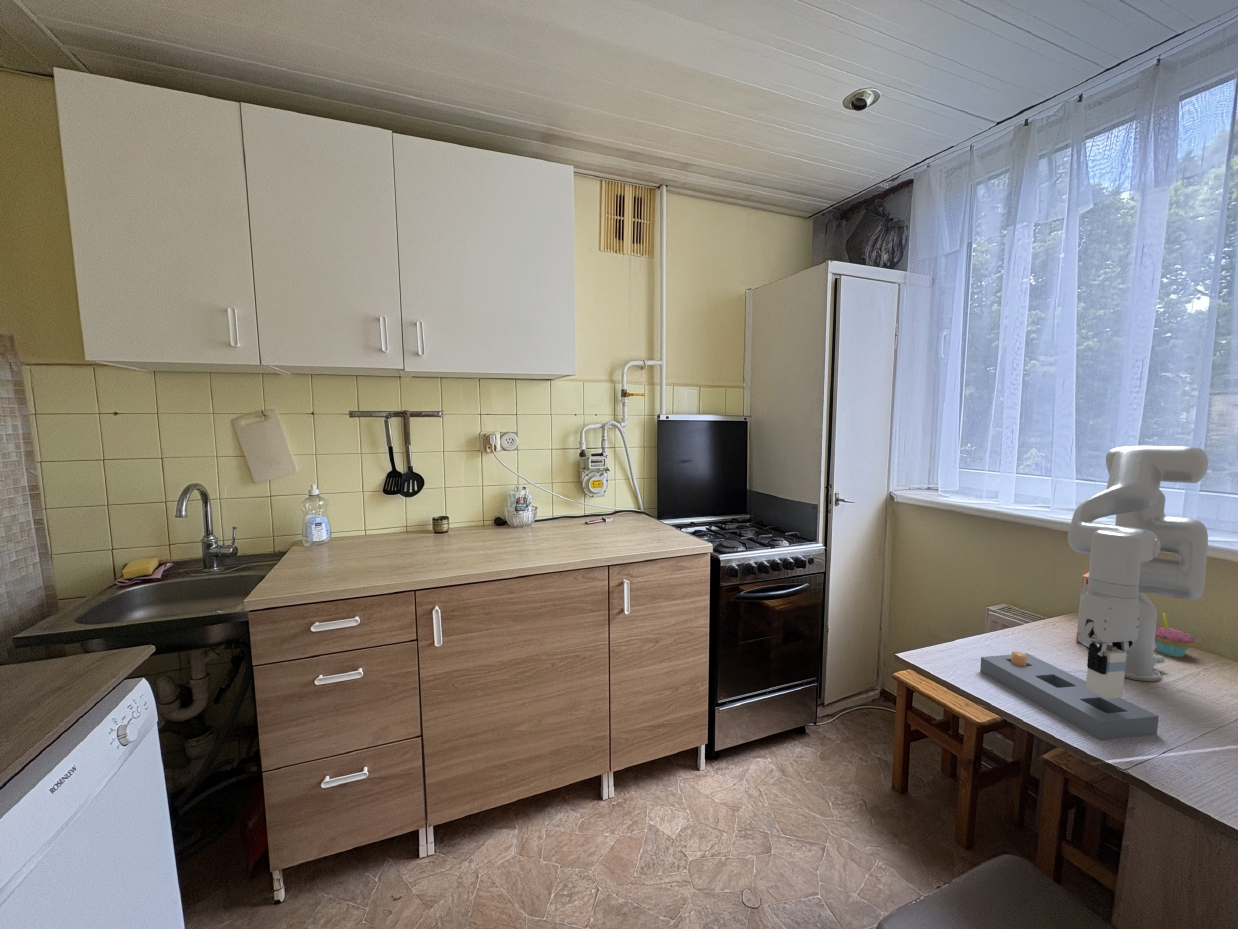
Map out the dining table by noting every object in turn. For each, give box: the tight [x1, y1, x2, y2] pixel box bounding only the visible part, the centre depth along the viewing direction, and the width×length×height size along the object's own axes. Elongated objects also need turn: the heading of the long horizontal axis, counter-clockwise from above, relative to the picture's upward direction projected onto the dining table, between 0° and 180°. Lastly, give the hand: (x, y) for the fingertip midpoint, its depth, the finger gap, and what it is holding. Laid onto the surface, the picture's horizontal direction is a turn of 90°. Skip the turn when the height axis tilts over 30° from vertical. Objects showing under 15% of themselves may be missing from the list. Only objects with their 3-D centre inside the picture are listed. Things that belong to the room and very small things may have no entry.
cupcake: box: [1154, 610, 1196, 658], centre depth 136 cm, size 9×8×12 cm
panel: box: [979, 652, 1160, 741], centre depth 113 cm, size 14×28×4 cm, turn 8°
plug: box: [1085, 643, 1126, 699], centre depth 103 cm, size 4×4×11 cm
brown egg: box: [1011, 651, 1027, 667], centre depth 122 cm, size 3×3×6 cm
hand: (1105, 669), depth 103 cm, fingers closed on plug, 4 cm apart
